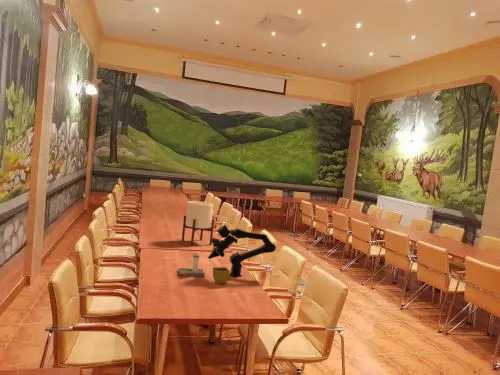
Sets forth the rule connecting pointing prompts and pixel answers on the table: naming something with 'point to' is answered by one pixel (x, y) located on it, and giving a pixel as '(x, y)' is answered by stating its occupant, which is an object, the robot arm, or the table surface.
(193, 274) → the grey railed base plate
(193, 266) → the fader knob
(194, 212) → the plant pot with stand
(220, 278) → the flower pot
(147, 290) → the table surface
